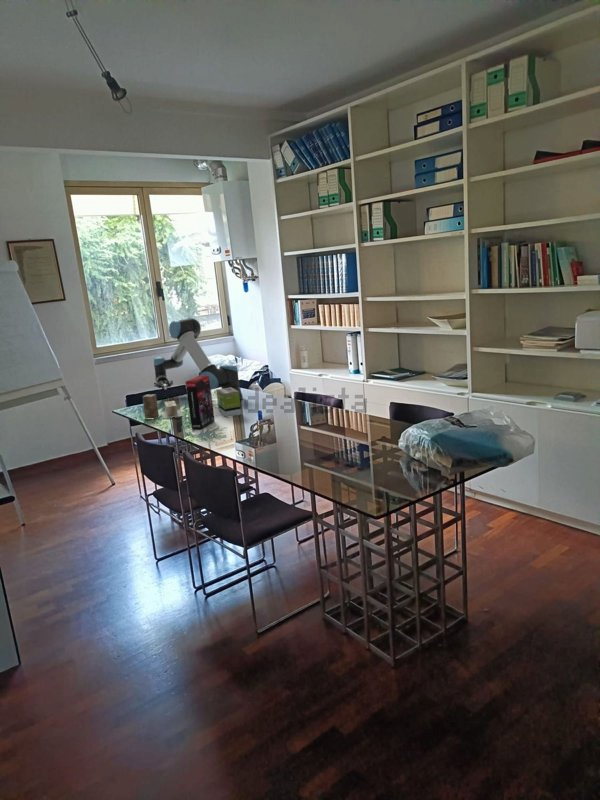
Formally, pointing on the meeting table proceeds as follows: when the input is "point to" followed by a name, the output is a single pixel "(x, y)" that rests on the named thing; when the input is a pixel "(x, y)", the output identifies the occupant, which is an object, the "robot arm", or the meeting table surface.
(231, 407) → the tea box
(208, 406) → the graphics card box
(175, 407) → the beech block
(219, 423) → the meeting table surface
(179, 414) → the grey felt mat
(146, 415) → the walnut block
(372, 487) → the meeting table surface
